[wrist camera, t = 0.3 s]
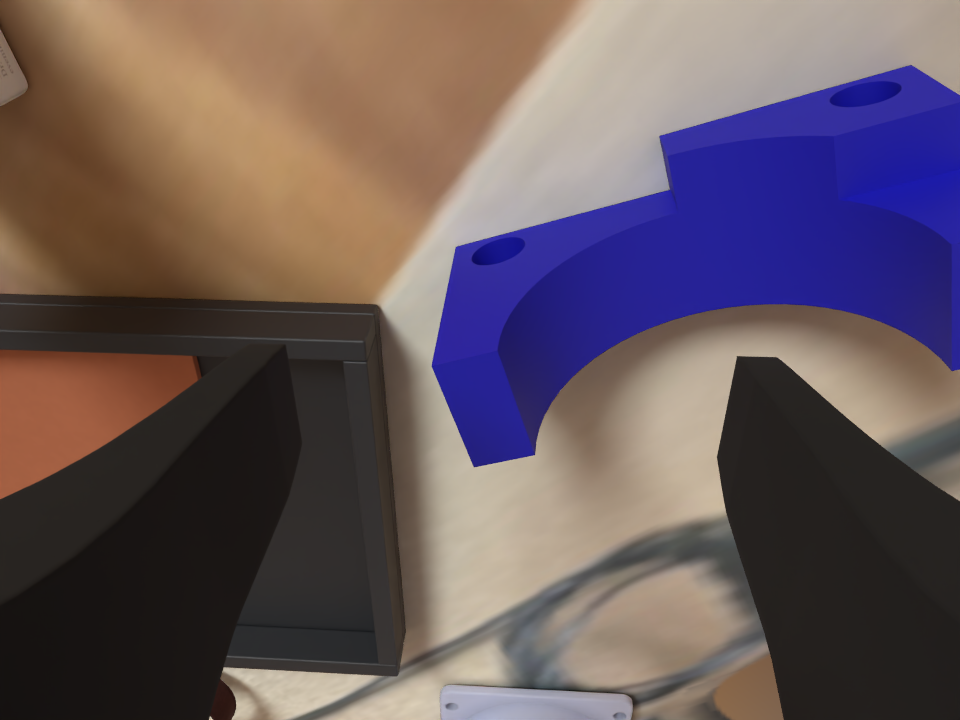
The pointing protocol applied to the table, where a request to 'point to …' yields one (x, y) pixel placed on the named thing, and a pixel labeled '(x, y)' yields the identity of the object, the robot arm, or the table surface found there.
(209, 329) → the tray
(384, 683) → the table surface
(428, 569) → the table surface
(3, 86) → the cosmetic box
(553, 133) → the table surface
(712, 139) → the blue u-shaped bracket
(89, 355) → the corner pad
